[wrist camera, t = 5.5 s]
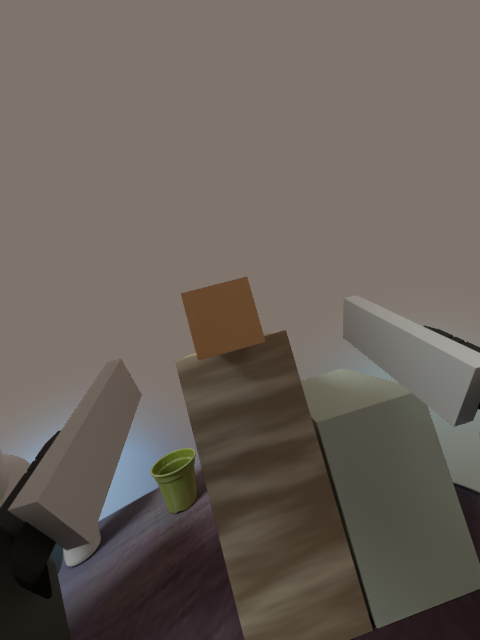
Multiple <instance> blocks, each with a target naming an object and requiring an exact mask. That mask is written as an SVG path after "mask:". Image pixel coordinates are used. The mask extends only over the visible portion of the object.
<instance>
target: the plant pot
mask: <svg viewBox="0 0 480 640" xmlns="http://www.w3.org/2000/svg"><path fill="white" fill-rule="evenodd" d="M194 458H195V450H194V449H191V448H183V449H179V450H176V451H174V452H171V453H169V454H167V455H166V456H164V457H162V458H161V459H159V460H158V461H157V462H156V463H155V464H154V465H153V467H152V468H151V475H152V476H153V477H154V478H155V480H156V481H157V482H158V485H159V487H160V490H161V492H162V495H163V497H164V500H165V503H166V505H167V508H168V511H169V512H170V513H174V514H175V513H177V512H179V511H184V510H186V509H188V508H189V507H190V506H191V505H192V504H193V503H194V502H195V500H196V496H197V489H196V480H195V470H194V461H195V459H194Z"/></svg>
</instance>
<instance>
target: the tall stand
mask: <svg viewBox="0 0 480 640" xmlns="http://www.w3.org/2000/svg"><path fill="white" fill-rule="evenodd" d="M263 335H264V338H265V342H263V343H260V344H256V345H253V346H249V347H246V348H242V349H238V350H235V351H231V352H228V353H224V354H221V355H217V356H213V357H210V358H206V359H203V360H199V361H198V358H197V354H196V353H194V354H191V355H189V356H186V357H184V358H181V359H179V360H176V361H175V363H176V367H177V371H178V375H179V379H180V383H181V387H182V391H183V395H184V399H185V403H186V407H187V411H188V415H189V418H190V423H191V427H192V431H193V435H194V439H195V443H196V447H197V451H198V455H199V459H200V463H201V467H202V471H203V475H204V479H205V483H206V487H207V491H208V495H209V499H210V503H211V507H212V511H213V515H214V519H215V523H216V527H217V531H218V535H219V539H220V543H221V547H222V551H223V555H224V559H225V563H226V567H227V571H228V575H229V579H230V583H231V587H232V591H233V595H234V599H235V603H236V607H237V611H238V615H239V619H240V623H241V628H242V632H243V636H244V640H350V639H353V638H356V637H358V636H361V635H363V634H366V633H368V632H371V631H373V628H372V625H371V621H370V618H369V614H368V611H367V607H366V604H365V601H364V597H363V594H362V590H361V587H360V583H359V580H358V577H357V573H356V570H355V566H354V563H353V559H352V556H351V552H350V549H349V546H348V542H347V539H346V535H345V532H344V528H343V525H342V522H341V518H340V515H339V511H338V508H337V504H336V501H335V497H334V494H333V491H332V487H331V484H330V480H329V477H328V473H327V470H326V467H325V463H324V460H323V456H322V453H321V449H320V446H319V442H318V439H317V436H316V432H315V429H314V425H313V422H312V418H311V415H310V412H309V408H308V405H307V401H306V398H305V394H304V391H303V387H302V384H301V381H300V377H299V374H298V370H297V367H296V363H295V360H294V357H293V353H292V350H291V346H290V343H289V339H288V336H287V333H286V330H285V331H278V332H271V333H263Z"/></svg>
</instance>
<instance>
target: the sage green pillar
mask: <svg viewBox="0 0 480 640" xmlns="http://www.w3.org/2000/svg"><path fill="white" fill-rule="evenodd" d="M301 384H302V387H303V391H304V394H305V398H306V401H307V405H308V408H309V412H310V415H311V418H312V422H313V425H314V429H315V432H316V436H317V439H318V442H319V446H320V449H321V453H322V456H323V460H324V463H325V467H326V470H327V473H328V477H329V480H330V484H331V487H332V491H333V494H334V497H335V501H336V504H337V508H338V511H339V515H340V518H341V522H342V525H343V528H344V532H345V535H346V539H347V542H348V546H349V549H350V552H351V556H352V559H353V563H354V566H355V570H356V573H357V577H358V580H359V583H360V587H361V590H362V594H363V597H364V601H365V604H366V607H367V610H368V612H369V614H370V616H371V618H372V620H373V622H374V624H375V626H376V628H377V629H378V628H380V627H383V626H386V625H388V624H391V623H393V622H396V621H398V620H401V619H404V618H406V617H409V616H411V615H414V614H416V613H419V612H422V611H424V610H427V609H429V608H432V607H434V606H437V605H440V604H442V603H445V602H447V601H450V600H452V599H455V598H458V597H460V596H463V595H465V594H468V593H470V592H473V591H476V590H478V589H480V563H479V560H478V557H477V554H476V551H475V548H474V545H473V542H472V539H471V536H470V533H469V530H468V527H467V524H466V521H465V518H464V515H463V512H462V509H461V506H460V503H459V500H458V497H457V494H456V491H455V488H454V485H453V482H452V479H451V476H450V473H449V470H448V467H447V464H446V461H445V458H444V455H443V452H442V449H441V446H440V443H439V440H438V436H437V433H436V431H435V427H434V424H433V421H432V419H431V415H430V412H429V409H428V406H427V405H426V404H425V403H424V402H423V401H421V400H420V399H419V398H418V397H416V396H415V395H414V394H413V393H411V392H410V391H409V390H408V389H406V388H405V387H404V386H403V385H401V384H399V383H395V382H391V381H388V380H384V379H380V378H377V377H373V376H369V375H365V374H362V373H358V372H354V371H350V370H347V369H343V368H342V369H339V370H336V371H333V372H329V373H325V374H322V375H319V376H316V377H312V378H309V379H306V380H302V381H301Z"/></svg>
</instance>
